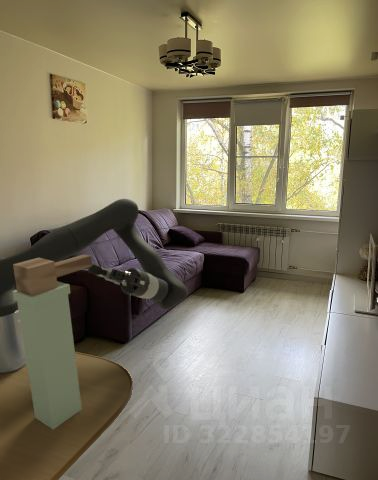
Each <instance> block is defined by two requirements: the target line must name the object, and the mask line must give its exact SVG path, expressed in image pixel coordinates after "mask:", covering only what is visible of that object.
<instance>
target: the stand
mask: <svg viewBox="0 0 378 480" xmlns="http://www.w3.org/2000/svg"><path fill="white" fill-rule="evenodd" d="M57 286H58V288H55V289H52V290H49V291H47V292H44V293H41V294H38V295H35V296H30V295H27V294H24V293H21V292H19V291H17V289H15V291H13V296H14V300H16V301H17V303H18V309H19V316H20V322H21V329H22V335H23V342H24V348H25V355H26V361H27V363H26V367H27V373H28V381H29V386H30V392H31V398H32V406H33V411H34V417H35V419H36V420H37V421H39V422H41V423H42V424H44V425H45V426H47V427H48V428H50V429H51V430H55V429H56V428H57V427H59V426H60V425H61V424H63V423H64V422H66V421H67V420H69V419H70V418H72V417H73V416H74V415H76V414H77V413H79V412H81V411H82V410H83V409H82V401H81V399H82V398H81V393H80V391H81V390H80V384H79V375H78V367H77V358H76V349H75V343H74V342H75V341H74V335H73V326H72V317H71V308H70V302H69V295H70V294H71V287H70V286H71V285H70V284H69V283H65V282H61V281H58V280H57Z"/></svg>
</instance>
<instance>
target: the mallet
mask: <svg viewBox="0 0 378 480" xmlns="http://www.w3.org/2000/svg"><path fill="white" fill-rule="evenodd" d="M92 264H93V259H92V255H89V254H81V255H77V256H74V257H69V258H66V259H63V260H61V261H59V262H56V263H55V262H54V261H51V260H47V259H43V258H35V259H32V260H28V261H24V262H20V263H17V264H13V267H14V274H15V280H16V285H15V286H16V287H15V288H16V290H17V291H19V292H21V293H24V294H27V295H30V296H35V295H38V294H41V293H44V292H47V291H49V290H52V289H55V288H58V286H57V281H58V280H57V279H58V278H59V277H63V276H66V275H68V274H72V273H75V272H79V271H82V270H84V269H89V267H91V266H92Z"/></svg>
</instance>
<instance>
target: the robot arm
mask: <svg viewBox="0 0 378 480" xmlns="http://www.w3.org/2000/svg"><path fill="white" fill-rule="evenodd" d="M138 215H139V207H138V204H137V203H136V202H135V201H134V200H132V199H129V198H120V199H117V200H115V201H113V202H111V203H110V204H108V205H107V206H105V207H103V208H102V209H100V210H98V211H96V212H94V213H92V214H90V215H87V216H84V217H82V218H79V219H78V220H75V221H73V222H71V223H68V224H66V225H63V226H60V227H59V228H57V229H54V230H52V231H51V232H49V233H46V234H45V235H44V236H43V237H41V238H40V239H39V240H38V241H37V242H35V243H34V244H33V245H31V246H30V247H29V248H27V249H25V250H22V251H21V252H18V253H15V254H13V255H11V256H8V257H4V256H2V255H0V373H2V374H3V373H10V372H14V371H16V370H19V369H21V368H23V367H25V365H27V361H26V355H25V348H24V342H23V335H22V329H21V322H20V316H19V309H18V303H17V301H16V300H14V296H13V291H15V290H16V287H15V286H16V280H15V274H14V267H13V264H17V263H20V262H24V261H28V260H32V259H35V258H43V259H47V260H51V261H54V262H55V263H56V262H60V261H63V260H66V259H69V258H71V257H72V256H74V255H76V254H77V253H80V252H81V251H83V250H84V249H86V248H87V247H89V246H90V245H91V244H93V243H94V242H95V241H97V240H98V239H99V238H100V237H101V236H102V235H104V234H106V233H107V232H109V231H112V230H113V232H115V234H117V236H118V237H119V238H120V239H121V240H122V241H123V242H124V245H126V247H127V248H128V249H129V250H130V252H131V253H132V255H133V256H134V257H135V259H136V260H137V262H138V263H139V265H140V267H141V269H142V270H141V269H138V268H136V267H131V268H128V269H126V270H122V269H115V268H112V267H109V268H105V267H103V266H99V265H96V264H94V263H92V266H91V267H88V268H87V272H88V273H91V274H94V276H95V277H98V278H99V277H100V278H104V279H105V281H109V282H112V283H114V284H115V285H119V286H120V288H121V290H122V292H123V293H124V294H126V295H130V296H133V297H137V298H141V299H147V300H150V301H153V303H154V304H156V305H158V307H160V308H161V309H162V310H171V309H172V308H173V307H175V306H177V305H178V304H180V303H182V302H183V301H185V300H186V299H187V297H188V288H187V287H186V286H187V285H185V284H184V283H183V281H181V280H180V279H179V278H178V277H176V276H175V275H174V273H173V272H172V271H171V270H170V269H169V268H168V266H167V265H166V263H165V262H164V260H163V259H162V257H161V255H160V254H159V253H158V251H157V250H156V249H155V248H153V246H152V245H150V244H149V243H148V242H147V241H146V240H145V239H144V238H143V237H142V235H141V234H140V233H139V231H138V229H137V226H136V224H135V222H136V221H137V219H138Z"/></svg>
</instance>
